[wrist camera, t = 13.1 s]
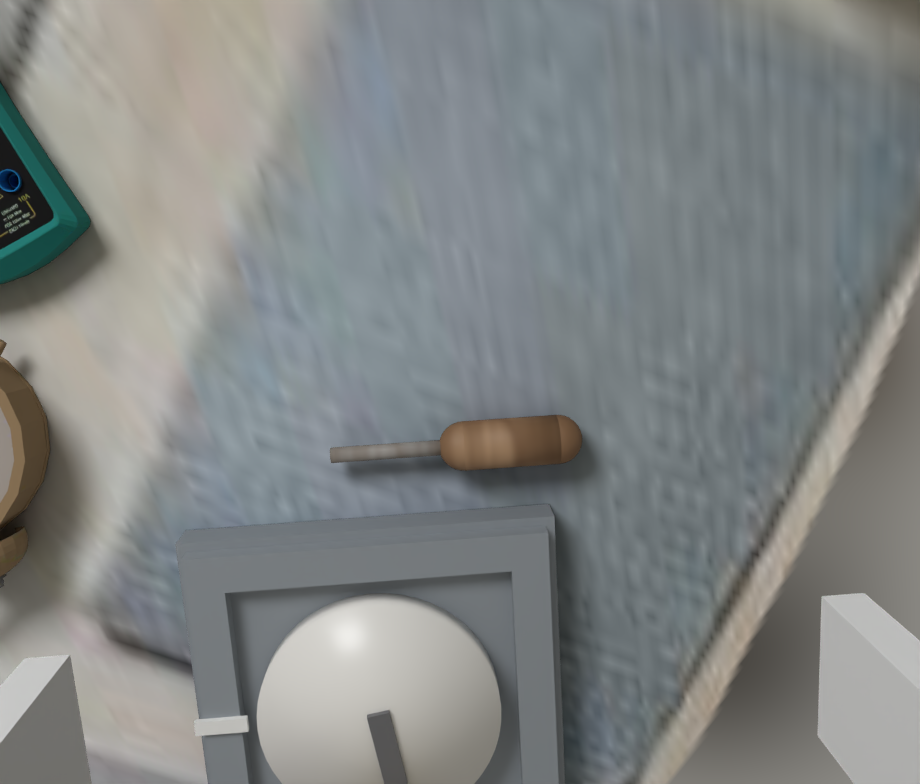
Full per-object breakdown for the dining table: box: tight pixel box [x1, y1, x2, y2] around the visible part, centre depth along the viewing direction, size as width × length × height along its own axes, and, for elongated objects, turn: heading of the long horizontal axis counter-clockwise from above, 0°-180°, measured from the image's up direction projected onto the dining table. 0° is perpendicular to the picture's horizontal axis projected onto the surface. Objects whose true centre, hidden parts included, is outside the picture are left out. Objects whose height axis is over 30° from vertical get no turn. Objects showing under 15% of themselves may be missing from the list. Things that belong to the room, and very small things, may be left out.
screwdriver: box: [330, 415, 582, 471], centre depth 46 cm, size 13×3×3 cm, turn 94°
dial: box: [257, 593, 501, 784], centre depth 43 cm, size 13×13×10 cm
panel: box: [175, 504, 565, 784], centre depth 48 cm, size 20×20×3 cm
